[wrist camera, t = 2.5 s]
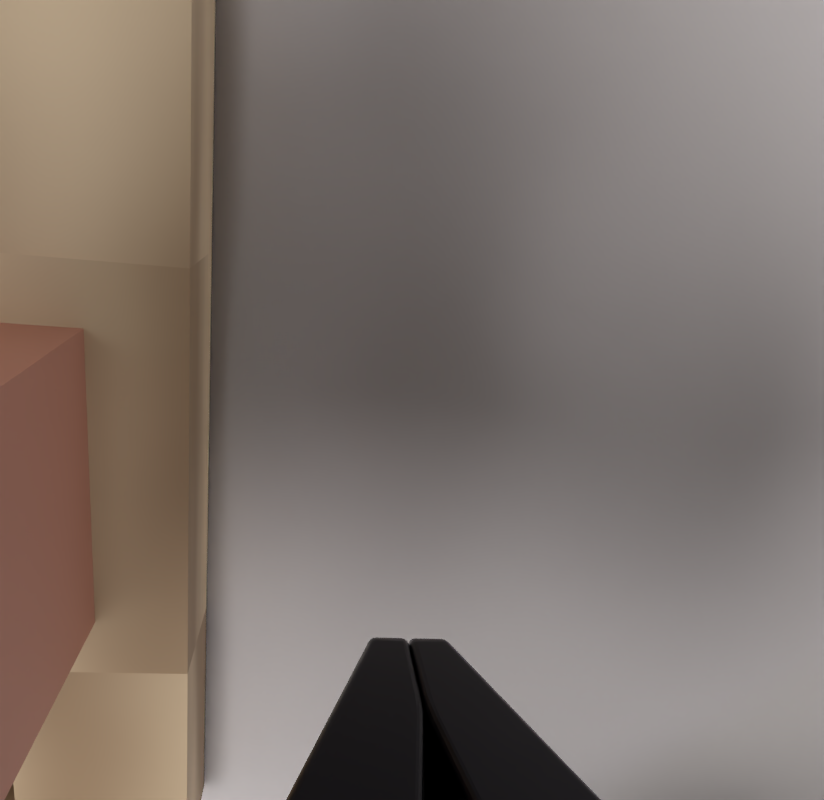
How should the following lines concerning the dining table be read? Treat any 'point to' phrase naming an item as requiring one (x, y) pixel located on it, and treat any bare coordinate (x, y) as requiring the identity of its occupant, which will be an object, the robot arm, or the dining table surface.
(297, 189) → the dining table surface
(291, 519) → the dining table surface
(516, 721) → the robot arm
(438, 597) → the dining table surface
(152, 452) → the trap box
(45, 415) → the block
